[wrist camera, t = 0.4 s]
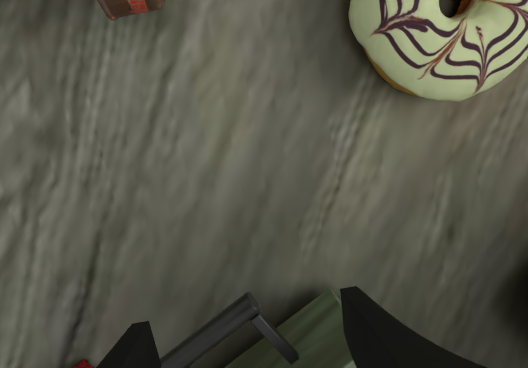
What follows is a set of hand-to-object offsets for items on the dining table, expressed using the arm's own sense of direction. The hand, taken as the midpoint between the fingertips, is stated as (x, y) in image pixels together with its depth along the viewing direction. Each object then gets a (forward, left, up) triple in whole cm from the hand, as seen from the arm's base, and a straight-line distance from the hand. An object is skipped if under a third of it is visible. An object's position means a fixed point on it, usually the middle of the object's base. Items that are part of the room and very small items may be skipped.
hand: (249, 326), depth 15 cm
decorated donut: (+17, +4, -10) cm, 20 cm away
